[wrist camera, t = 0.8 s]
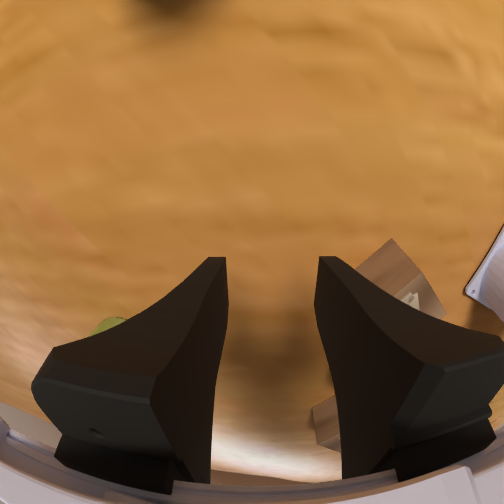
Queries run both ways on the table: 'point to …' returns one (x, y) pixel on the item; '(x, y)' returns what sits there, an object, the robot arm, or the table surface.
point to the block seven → (401, 279)
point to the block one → (327, 424)
